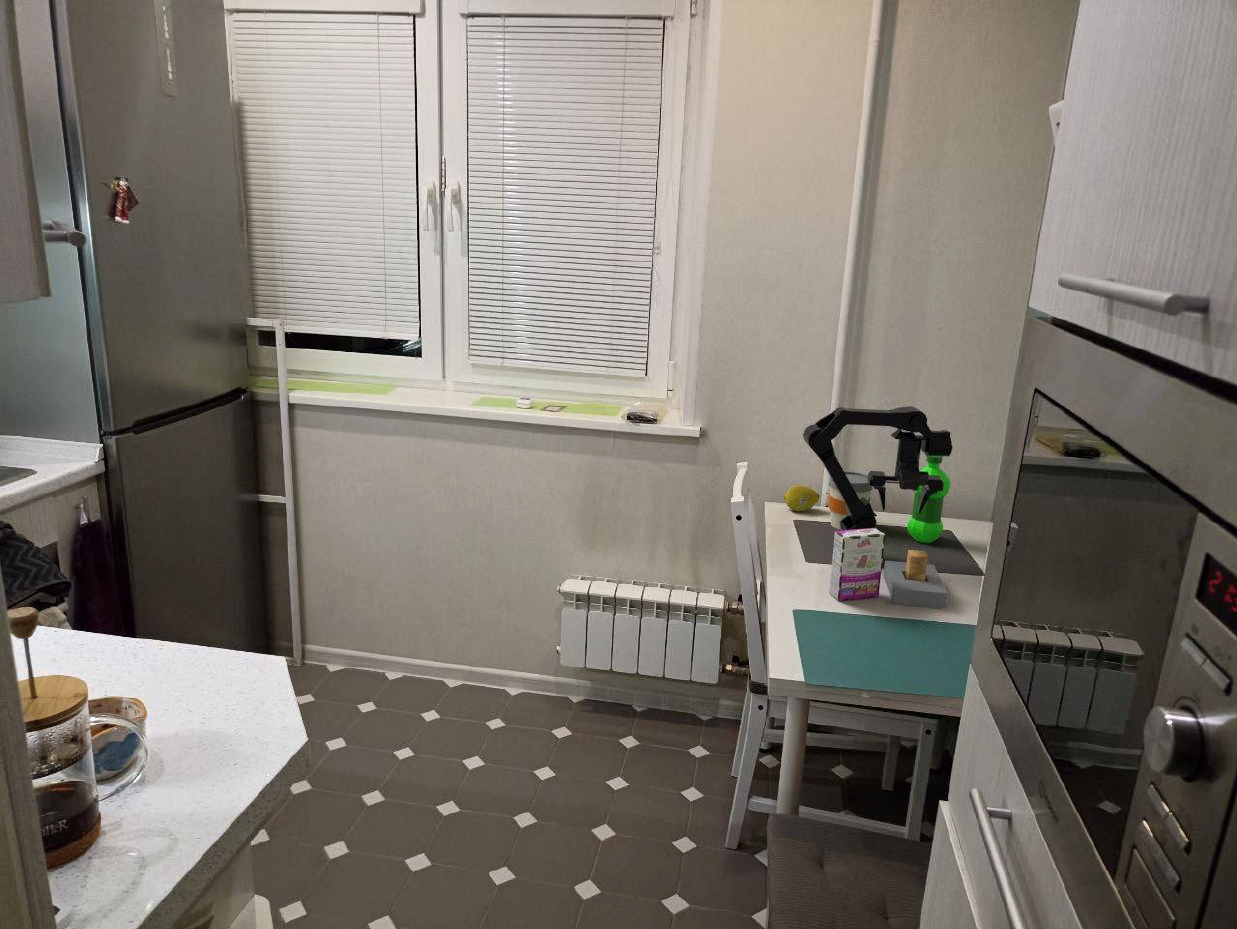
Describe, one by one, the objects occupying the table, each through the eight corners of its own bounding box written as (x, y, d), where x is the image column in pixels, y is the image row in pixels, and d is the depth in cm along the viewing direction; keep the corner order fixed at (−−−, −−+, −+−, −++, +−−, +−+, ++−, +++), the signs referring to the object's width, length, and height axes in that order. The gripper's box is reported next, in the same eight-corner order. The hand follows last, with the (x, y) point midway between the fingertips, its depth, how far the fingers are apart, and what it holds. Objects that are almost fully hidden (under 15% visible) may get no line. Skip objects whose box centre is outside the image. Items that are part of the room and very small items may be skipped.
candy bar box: (868, 589, 222) (875, 527, 218) (879, 598, 218) (886, 534, 213) (827, 593, 219) (834, 529, 215) (837, 601, 215) (844, 537, 210)
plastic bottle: (914, 530, 265) (925, 448, 258) (948, 540, 258) (960, 456, 251) (898, 538, 258) (908, 454, 251) (932, 548, 251) (944, 462, 244)
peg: (906, 593, 221) (911, 555, 218) (903, 587, 224) (908, 549, 222) (922, 595, 220) (928, 557, 217) (920, 588, 224) (925, 551, 221)
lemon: (781, 512, 278) (783, 487, 275) (784, 504, 285) (786, 480, 283) (816, 516, 275) (819, 491, 273) (818, 508, 282) (821, 484, 280)
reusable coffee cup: (816, 520, 271) (821, 472, 267) (853, 517, 275) (858, 470, 271) (838, 534, 260) (843, 484, 256) (876, 531, 264) (882, 482, 260)
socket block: (893, 604, 214) (895, 588, 213) (883, 575, 232) (885, 560, 230) (945, 608, 213) (947, 593, 212) (931, 579, 230) (933, 564, 229)
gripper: (875, 460, 230) (868, 518, 234) (951, 466, 227) (943, 524, 232) (870, 449, 241) (864, 505, 245) (942, 454, 238) (935, 510, 242)
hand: (901, 511), depth 241 cm, fingers open, 9 cm apart
